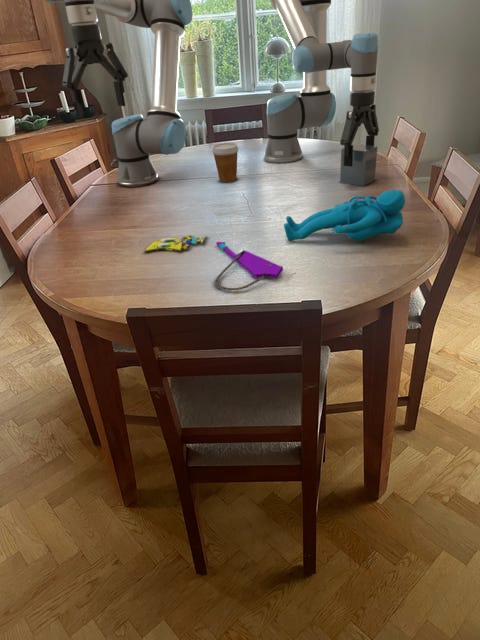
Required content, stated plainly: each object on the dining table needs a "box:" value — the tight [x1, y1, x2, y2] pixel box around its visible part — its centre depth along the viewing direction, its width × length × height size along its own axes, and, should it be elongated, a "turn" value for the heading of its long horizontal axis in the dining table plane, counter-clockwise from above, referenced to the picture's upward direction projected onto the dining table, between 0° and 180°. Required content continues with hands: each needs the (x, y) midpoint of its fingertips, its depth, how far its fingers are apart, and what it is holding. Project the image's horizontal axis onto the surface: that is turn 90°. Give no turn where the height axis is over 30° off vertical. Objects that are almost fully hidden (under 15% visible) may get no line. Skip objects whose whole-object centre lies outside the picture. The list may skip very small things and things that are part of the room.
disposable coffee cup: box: [211, 142, 239, 183], centre depth 173 cm, size 10×10×12 cm
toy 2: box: [283, 189, 406, 243], centre depth 123 cm, size 17×11×30 cm
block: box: [339, 143, 378, 187], centre depth 161 cm, size 7×9×11 cm
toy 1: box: [144, 234, 207, 254], centre depth 130 cm, size 10×1×15 cm
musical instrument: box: [214, 241, 284, 291], centre depth 115 cm, size 24×2×20 cm
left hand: (102, 110), depth 139 cm, fingers open, 13 cm apart
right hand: (358, 161), depth 160 cm, fingers open, 13 cm apart
